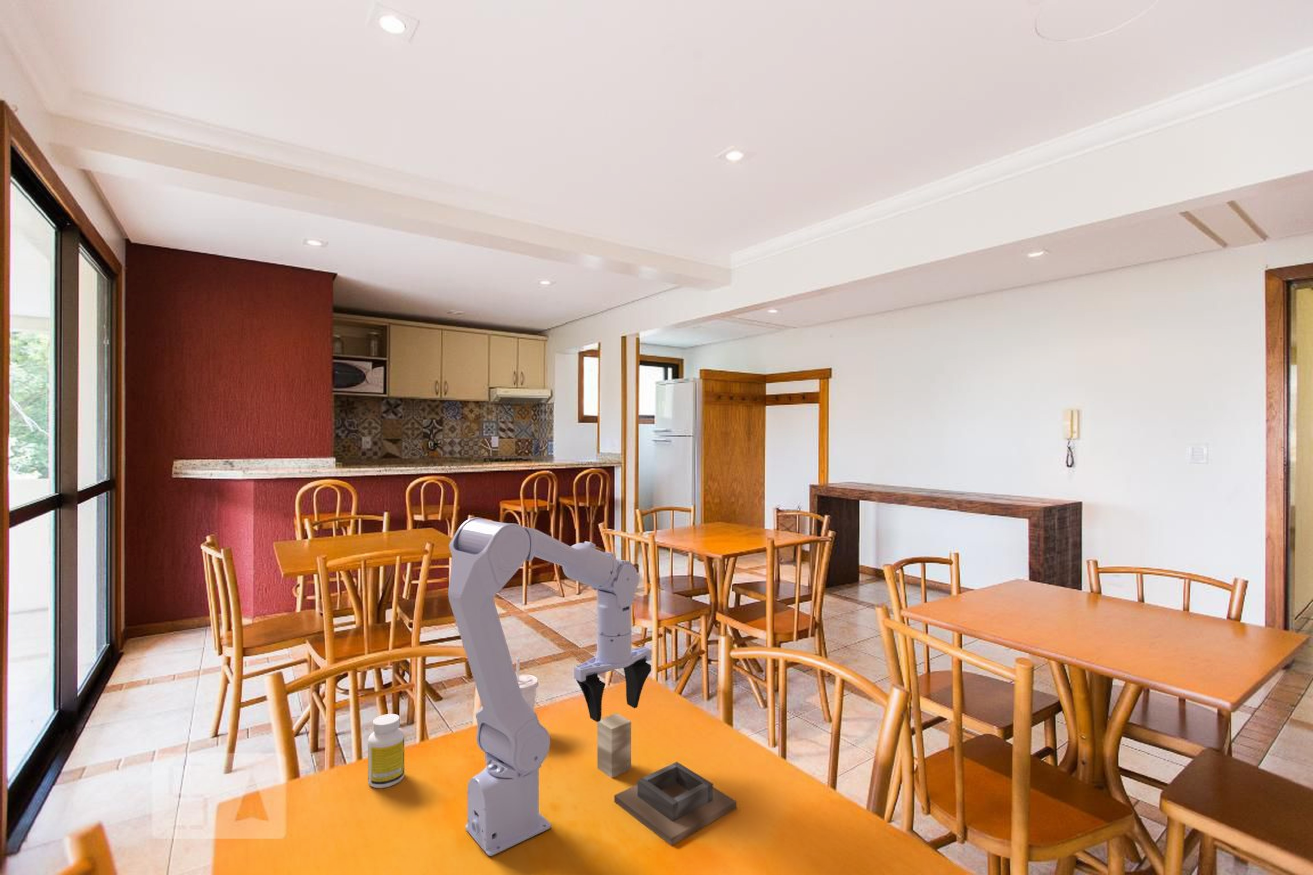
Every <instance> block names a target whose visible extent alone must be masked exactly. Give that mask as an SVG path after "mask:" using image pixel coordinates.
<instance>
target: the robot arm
mask: <svg viewBox="0 0 1313 875" xmlns="http://www.w3.org/2000/svg"><path fill="white" fill-rule="evenodd" d="M448 547H449V551H450V554H451V558H452V559H451V568H450V574H449V581H448V582H449V583H448V593H447V596H448V601H449V605H450V608H451V611H452V614H453V616H454V617H453V618H454V621H455V624H456V626H457V630H458V633H459V637H460V639H461V643H462V646H463V650H464V653H465V655H466V659H467V662H468V664H469V665H468V666H469V668H470V671H471V674H472V677H473V682H474V684H475V687H476V691H477V694H478V697H479V700H480V703H481V706H480V708H479V709H478V710H477V712H476V713H475V718H476V723H477V728H476V744H477V746H478V748H479V749H480V750H481V751H482V752H484V761H485V762H486V766H485V767H484V769H483V770H481V771H480V772H478V773H477V774H476V775H474V776H473V777H471V778H470V779H469V781H468V783H467V792H466V793H467V794H466V796H467V823H466V824H465V826H464V827H465V828H464V829H465V830H466V831H467V832H468V833H469V835H471V837H472V838H473V839H474V840H475V842H476V844H478V845H479V846H480V847H481V849H482V850H483V852H485V854H486V855H487V856H489V857H492V856H494V855H496V854H500V853H501V852H503V851H505V850H507V849H509V848H511V847H514V846H515V845H518V844H519V843H522V842H524V841H526V840H528V839H530V838H533V837H535V836H537V835H538V834H541V833H543V832H545V831H547V830H549V829H551V827H552V824H551V822H550V821H549V820H548V819H547V818H546V817H545V816H543V814H541V813H540V793H539V792H540V779H539V778H540V777H539V776H540V771H539V770H540V768H542V764H543V763H544V761H545V760H546V759H547V756H548V753H549V751H550V745H551V738H550V733H549V731H548V730H547V728H546V727H545V726H543V725H542V724H541V723H540V720H539V718H538V715H537V712H536V711H535V710H534V711H533V709H532V708H531V707H530V706H529V705H528V703H527V702H526V701H525V700H524V698H523V697H522V694H521V691H520V687H519V684H518V680H517V677H516V669H515V667H514V663H513V661H512V657H511V654H510V650H509V648H508V647H509V646H508V643H507V640H506V637H505V634H504V630H503V627H502V623H501V619H500V615H499V613H498V610H497V606H496V602H495V597H496V594H497V593H500V591H501V590H502V589H503V588H504V587H505V586H506V584H507V583H508V582H509V581H510V580H511V579H512V578H513V576H514V575H515V574H516V573H517V572H518V570H519V569H520V568H521V567H522V566H523V565H524V563H525V561H527V562H531V561H533V559H534V558H538V559H540V560H544V561H546V562H549V563H552V564H555V565H557V566H561V567H562V571H563V574H564V575H565V576H566V578H568V579H570V580H572V581H575V582H578V583H581V584H583V585H586V586H589V587H591V589H592V591H596V655H595V656H594V657H592V658H590V659H588V660H586V661H583V662H582V663H580V664H578V665H575V666H573V678H574V679H575V680H576V682H577V684H578V686H579V687H580V689H581V693H582V694H583V696H584V699H585V703H586V706H587V708H588V713H589V718H590V719H591V720H593V721H594V722H596V723H597V722H599V721H601V719H602V711H603V710H602V707H603V706H602V702H603V695H604V690H605V687H606V682H604V681H602V680H601V679H600V677H599V675H601V674H605V673H607V672H608V673H609V672H611V671H613V670H617V669H618V670H620V669H623V672H624V673H623V674H624V679H625V691H626V692H625V696H626V697H625V698H626V705H627V706H630V707H631V708H634V709H637V708H638V707H639V706H638V705H639V701H640V698H641V694H642V691H643V687H644V685H645V683H646V680H647V679H648V676H649V675H650V673H651V672H652V665H651V664H650V663H648V662H650V661H652V648H650V647H648V646H644V645H642V646H639V647H633V648H632V606H633V604H634V602H635V594H636V590H637V588H638V586H639V584H640V574H638V570H637V569H636V567H635V565H634V564H633V563H632V562H631V561H629V560H624V559H623V560H622V559H619V558H616V557H615V554H614V553H613V552H611V551H605V552H604V551H601V550H599V549H597V548H596V544H595V543H593V542H592V541H591V542H590V541H586V540H585V541H584V542H577V543H575V544H573V545H571V546H570V545H568V544H566V543H564V542H563V541H560V540H559V539H557V538H554V537H552V536H550V535H549V534H547V533H544V532H542V531H540V530H538V529H537V528H533V527H527V526H522V525H521V524H518V523H510V522H509V523H507V522H500V521H494V520H488V519H486V518H483V517H475V516H474V517H472V518H469V519H467V520H465V521H464V522H463V523H461V525H460V526H459V527H458V529H457V530H456V532H455V534H454V535H453V537H452V539H451V540H450V542H449V544H448Z"/></svg>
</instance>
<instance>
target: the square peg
mask: <svg viewBox="0 0 1313 875" xmlns="http://www.w3.org/2000/svg"><path fill="white" fill-rule="evenodd" d="M596 723H597V726H596V727H597V728H596V729H597V731H596V732H597V733H596V734H597V737H596V738H597V740H596V741H597V742H596V743H597V744H596V745H597V755H596V756H597V757H596V758H597V762H596V763H597V764H596V765H597V769H598V770H600V771H601V772H602V773H604V774H605V775H606V776H608V777H609V778H610V779H613V778H615V777H618V776H619V775H622V774H624V773H626V772H629V771H631V770H632V721H631V720H629V719H628V718H625V717H624V716H623V715H620V714H618V712H617V713H613V714H611V715H609V716H606V717H603V718H602V717H601V721H599V722H596Z"/></svg>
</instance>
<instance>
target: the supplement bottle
mask: <svg viewBox="0 0 1313 875" xmlns="http://www.w3.org/2000/svg"><path fill="white" fill-rule="evenodd" d="M400 718H401V717H400V715H398V714H395V713H387V714H382V715H378V716H377V717H375V718H374V719H373V720H372V731H373V732H371V734H370V735H369V736H368V738H367V783H368V785H369V786H371V787H372V788H376V789H383V788H385V789H386V788H388V787H392V786H395V785H397V784H398V783H400V782H401V781H402V780H403V779H404V778H405V777H404V776H405V732H404V730H403V729H402V728H400V725H401V723H400V722H401V721H400Z"/></svg>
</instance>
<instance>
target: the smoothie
mask: <svg viewBox="0 0 1313 875" xmlns="http://www.w3.org/2000/svg"><path fill="white" fill-rule="evenodd" d="M515 660H516V661H515V662H516V664H515V665H516V669H515V673H516V677H517V680H518V684H519V687H520V691H521V694H522V697H523V698H524V700H525V701H526V702H527V703H528V705H529V706H530V707H531V708H532V709H533V711H534V712H535V703H536V696H537V689H538V687H539V679H538V678H537V677H536V676H535V675H531V674H520V657H516V659H515Z"/></svg>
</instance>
